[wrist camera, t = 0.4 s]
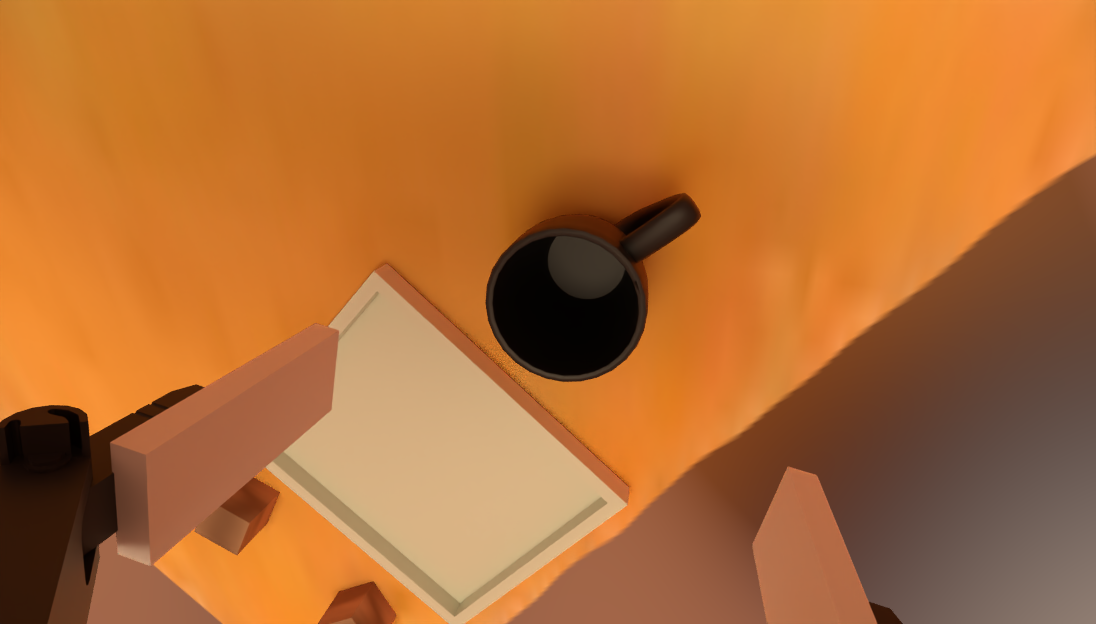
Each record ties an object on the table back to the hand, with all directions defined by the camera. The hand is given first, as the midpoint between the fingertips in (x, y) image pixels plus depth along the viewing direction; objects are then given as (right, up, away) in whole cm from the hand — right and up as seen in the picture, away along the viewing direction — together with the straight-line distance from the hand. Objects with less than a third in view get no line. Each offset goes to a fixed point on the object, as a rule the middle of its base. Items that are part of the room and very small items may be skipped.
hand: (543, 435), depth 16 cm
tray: (-9, -8, +29) cm, 31 cm away
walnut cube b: (-16, -23, +36) cm, 45 cm away
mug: (+4, +8, +21) cm, 22 cm away
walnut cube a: (-26, -13, +34) cm, 44 cm away
